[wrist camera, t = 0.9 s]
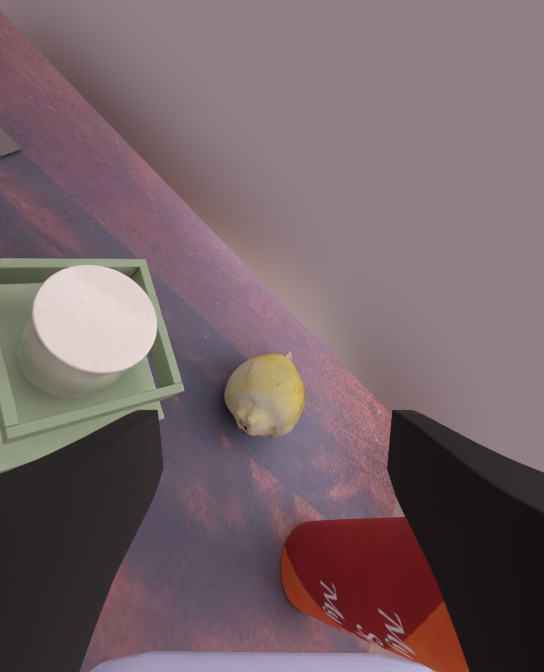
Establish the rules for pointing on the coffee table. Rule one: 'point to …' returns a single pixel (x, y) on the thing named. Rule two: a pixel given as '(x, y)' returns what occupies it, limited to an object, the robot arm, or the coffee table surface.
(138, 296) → the canister
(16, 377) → the green button tray
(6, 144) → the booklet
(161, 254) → the coffee table surface
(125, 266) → the cup well
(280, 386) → the fruit
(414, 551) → the coffee cup
